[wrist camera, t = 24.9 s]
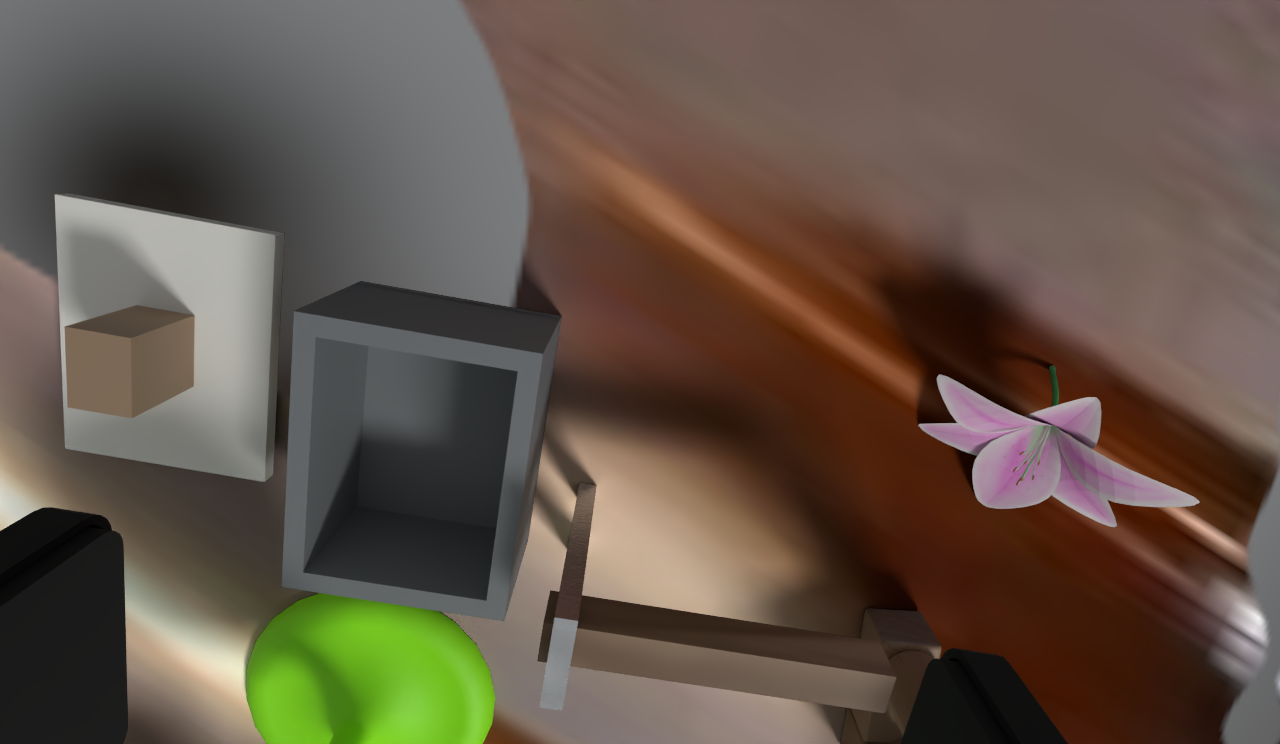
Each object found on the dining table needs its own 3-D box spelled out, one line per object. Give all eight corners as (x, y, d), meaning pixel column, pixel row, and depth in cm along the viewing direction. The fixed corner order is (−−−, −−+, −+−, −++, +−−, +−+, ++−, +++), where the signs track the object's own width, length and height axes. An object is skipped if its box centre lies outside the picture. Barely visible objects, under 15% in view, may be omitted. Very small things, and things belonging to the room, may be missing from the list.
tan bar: (550, 590, 34) (543, 623, 32) (879, 641, 35) (896, 677, 33) (544, 626, 35) (537, 660, 33) (868, 676, 36) (884, 713, 33)
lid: (83, 192, 39) (-34, 200, 32) (293, 231, 39) (221, 246, 32) (90, 435, 43) (-13, 487, 36) (281, 467, 43) (214, 525, 36)
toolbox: (360, 281, 40) (231, 339, 27) (624, 327, 40) (616, 404, 28) (344, 515, 44) (224, 661, 31) (584, 553, 44) (562, 710, 32)
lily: (897, 311, 41) (896, 432, 34) (1147, 269, 36) (1204, 402, 29) (934, 456, 48) (939, 582, 41) (1149, 439, 42) (1197, 580, 36)
